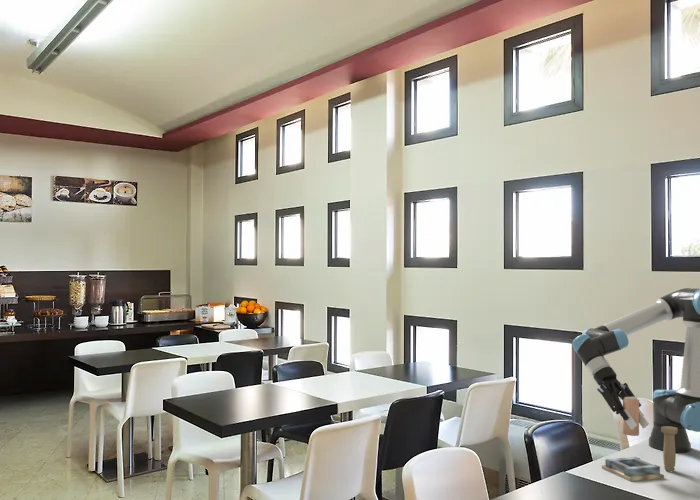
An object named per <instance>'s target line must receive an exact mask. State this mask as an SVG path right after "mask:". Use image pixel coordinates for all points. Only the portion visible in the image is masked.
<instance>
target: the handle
mask: <svg viewBox="0 0 700 500" xmlns="http://www.w3.org/2000/svg"><path fill="white" fill-rule="evenodd" d="M661 432H662V433H664V449H663V450H662V451H663V452H662V453H663V454H662V455H663V457H662V459H663V467H664V470H665V472H669V473H671V472H673V473H674V472H675V470H676V468H675V467H676V457H677V456H676V453H677V452H675V438H674V436H675V434H677V432H678V428H676V427H672V426H663V427H661Z"/></svg>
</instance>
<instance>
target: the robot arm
mask: <svg viewBox="0 0 700 500" xmlns="http://www.w3.org/2000/svg"><path fill="white" fill-rule="evenodd" d="M678 318H682V323H683V324H684V325H685V326H686V330H685V340H684V347H683V348H684V349H683V359H682V360H683V361H682V368H681V379H680V387H679V388H678V389H655V390H654V391H653V395H652V403H653V404H652V407H653V408H652V414H653V417H652V418H653V419H652V420H653V421H652V422H653V423H652V424H653V426H652V428H651V433H650V436H649V438H648V446H649V447H651V448H653V449H656V450H660V451H663V449H664V433H662V432H661V427H663V426H672V427H676V428H678V432H677V434H675V436H674V438H675V453H687V452H690V451H691V450H692V446H691V442H690V440H689V436H688V432H687V431H693V432H695V433H700V288H691V287H690V288H689V287H688V288H680V289H678V290H675V291H672V292H671V293H668V294H666V295H663V296H661V297H659V298H657V299H655V302H654V303H651V304H649V305H646V306H644V307H642V308H640V309H637V310H635V311H632V312H630V313H628V314H626V315H623V316H622V317H618V318H617V319H614V320H611V321H609V322H607V323H605V324H602V325H600V326H597V327H595V328H592V327H591V328H586V329H585V330H583V332H582V333H581V334H580V335H578V336H577V337H575V338H574V339H573V340H572V343H571V346H572V348H573V350H574V351H575V353H576V355H577V356H578V358H579V359H580V360H581V362H582V363H583V365H584V366H585V367H586V369H587V370H588V372H589V373H590V375H591V376H592V377H593V379H594V381H595V382H596V384H597V385H598V386H599V387H597V389H596V390H597V391H598V392H599V393H600V395H601V396H602V398H604V400H605V402H606V403H607V405H608V406H609V408H610V410H611V411H612V412H613V413H615V414H616V415H620V416H621V418H622V420H623V419H624V420H625V421H626V423H627V424H628V426H629V427H630V429H631V430H633V429H634V428H635V427H636V426H638V425H637V424H636V422H635V421H634V419H633V418H632V417H631V415H630V414H629V412H628V411H627V410H626V409H625V410H623V409H624V408H623V403H622V402H621V400H622V401H623V398H625V397H636V395H635V394H634V393H633V391H632V390H631V389H630V387H629V385H628V383H627V382H624V383H621V381H619V380H618V379H617V373H616V371H615V370H614V368H612V367H611V365H610V363H609V362H608V360H607V359H606V358H605V356H606V355H609V354H612V353H615V352H618V351H621V350H623V349H625V348H627V347H628V346H629V344H630V343H629V338H628V336H629V335H631V334H634V333H636V332H639V331H641V330H644V329H646V328H649V327H650V326H652V325H656V324H657V323H660V322H662V321H672V320H674V319H678ZM641 406H642V403H641V402H640V401H639V426H641V427H642V429H645V428H647V426H649V425H650V423H649V421H648V420H647V418H646V417H645V415H644V413H643V412H642V411H641V409H640V408H641Z"/></svg>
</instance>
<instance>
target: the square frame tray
mask: <svg viewBox="0 0 700 500" xmlns="http://www.w3.org/2000/svg"><path fill="white" fill-rule="evenodd" d="M604 464H605V465H601V469H603V470H604V471H607V472H610V473H611V474H613V475H616V476H617V477H620V478H622V479H624V480H627V481H629V482H638V481H644V480H645V481H646V480H647V481H648V480H657V479H664V478H665V474H663V473H661V465H660V466H659V465H657V464H652V463H649V462H647V461H645V460H642V459H641V458H639V457H637V456H629V457H618V458H616V457H615V458H606V459H605V463H604Z"/></svg>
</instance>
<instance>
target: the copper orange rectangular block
mask: <svg viewBox="0 0 700 500" xmlns="http://www.w3.org/2000/svg"><path fill="white" fill-rule="evenodd" d="M639 402H640V399H638V397H637V396H635V397H625V398H623V400H622V406H623V408H624V409H623V410H625V409H626V410H627V411H628V412H629V414H630V415H631V417H632V418H633V419H634V421H635V422H636V424H637V425H638V426H636V427H635V428H634V429H633V430H631V429H630V427H629V426H628V424H627V423H626V421H625V420H624V419H623V418H622V434H623V435H625V436H630V437H631V436H632V437H638V436H640V423H639V409H640V407H639Z"/></svg>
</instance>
